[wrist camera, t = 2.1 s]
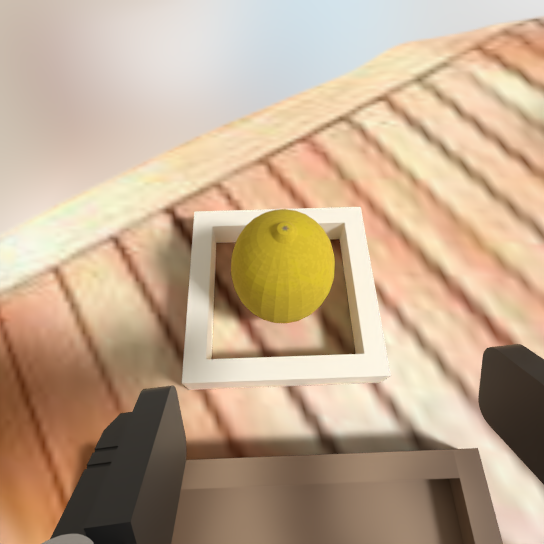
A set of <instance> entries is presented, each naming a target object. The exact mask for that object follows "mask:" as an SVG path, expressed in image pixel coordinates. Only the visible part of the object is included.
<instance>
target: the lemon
mask: <svg viewBox="0 0 544 544" xmlns="http://www.w3.org/2000/svg"><path fill="white" fill-rule="evenodd" d="M334 270H335V258H334V253H333V249H332V245H331V242H330V240H329V238H328V236H327V234H326V233H325V231H324V229H323V228H322V227H321V226H320V225H319V224H318V223H317V222H316V221H315V220H314V219H312V218H311V217H309V216H307V215H306V214H303V213H301V212H298V211H295V210H287V209H280V210H272V211H269V212H266V213H263V214H261V215H260V216H258V217H256V218H254V219H253V220H252V221H251V222H250V223H248V224H247V225H246V226H245V228H244V229H243V230H242V232H241V234H240V235H239V237H238V238H237V241H236V244H235V247H234V250H233V253H232V257H231V277H232V281H233V284H234V288H235V291H236V293H237V295H238V296H239V298H240V300H241V302H242V303H243V304H244V305H245V306H246V307H247V308H248V309H249V310H250V311H251V312H252V313H253V314H255V315H256V316H258V317H260V318H262V319H263V320H267V321H270V322H274V323H290V322H295V321H299V320H301V319H303V318H305V317H307V316H309V315H310V314H312V313H313V312H314V311H315V310H316V309H318V308H319V307H320V306H321V304H322V303H323V301H324V300H325V298H326V297H327V295H328V294H329V291H330V289H331V285H332V282H333V279H334Z"/></svg>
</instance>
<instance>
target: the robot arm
mask: <svg viewBox="0 0 544 544" xmlns="http://www.w3.org/2000/svg"><path fill="white" fill-rule="evenodd" d="M479 406H480V410H481V413H482V415H483V417H484V419H485V420H486V422H487V423H488V424H489V425H490V426H491V428H492V429H493V430H494V431H495V432H496V433H497V434H498V435H499V436H500V437H501V438H502V439H503V441H504V442H505V443H506V444H507V445H508V446H509V447H510V448H511V449H512V450H513V451H514V453H515V454H516V455H517V456H518V457H519V458H520V459H521V460H522V461H523V462H524V463H525V464H526V466H527V467H528V468H529V469H530V470H531V471H532V472H533V473H534V474H535V475H536V476H537V478H538V479H539V480H540V481H541V482H542V483H543V484H544V359H542V358H541V357H539V356H538V355H536V354H535V353H533V352H532V351H530V350H529V349H527V348H526V347H524V346H523V345H520V344H514V345H506V346H498V347H490V348H487V349H486V350H485V351H484V354H483V360H482V369H481V379H480V388H479ZM185 463H186V436H185V431H184V426H183V421H182V416H181V411H180V406H179V401H178V396H177V391H176V389H175V387H174V386H166V387H158V388H150V389H143V390H142V391H141V393H140V395H139V398H138V400H137V402H136V405H135V407H134V410H133V412H128V413H121V414H120V415H119V416H118V417H117V418H116V419H115V420H114V421H113V422H112V423H111V424H110V425H109V426H108V427H107V428H106V429H105V430H104V431H103V433H102V435H101V437H100V439H99V441H98V443H97V446H96V448H95V452H94V453H93V454H92V456H91V458H90V460H89V462H88V464H87V469H85V470H84V472H83V474H82V476H81V478H80V480H79V482H78V484H77V486H76V488H75V490H74V492H73V494H72V496H71V498H70V500H69V502H68V504H67V506H66V508H65V510H64V512H63V514H62V516H61V518H60V520H59V522H58V524H57V526H56V528H55V530H54V532H53V535H52V536H51V538H50V540H48V541H45V542H44V543H42V544H171V542H172V537H173V531H174V525H175V520H176V514H177V508H178V503H179V497H180V492H181V486H182V480H183V475H184V469H185Z"/></svg>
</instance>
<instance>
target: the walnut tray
mask: <svg viewBox="0 0 544 544" xmlns="http://www.w3.org/2000/svg"><path fill="white" fill-rule="evenodd" d="M171 544H503V542H502V539H501V535H500V531H499V527H498V523H497V520H496V516H495V512H494V508H493V504H492V500H491V497H490V493H489V489H488V485H487V481H486V478H485V474H484V470H483V466H482V462H481V459H480V455H479V451H478V448H473V449H448V450H423V451H398V452H373V453H348V454H323V455H298V456H273V457H248V458H224V459H199V460H186V463H185V469H184V475H183V480H182V486H181V492H180V497H179V503H178V508H177V514H176V520H175V525H174V531H173V537H172V542H171Z"/></svg>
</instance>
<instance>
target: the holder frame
mask: <svg viewBox="0 0 544 544" xmlns="http://www.w3.org/2000/svg"><path fill="white" fill-rule="evenodd" d="M272 210H280V209H270V210H235V211H200V212H194V224H193V238H192V251H191V265H190V278H189V292H188V305H187V319H186V332H185V346H184V359H183V373H182V384H183V385H184V386H186V387H187V388H188V389H189V390H197V389H224V388H251V387H278V386H306V385H333V384H360V383H381V382H382V381H384V380H385V379H387V378H388V377H390V376H391V374H390V368H389V363H388V357H387V351H386V346H385V340H384V335H383V329H382V324H381V318H380V312H379V307H378V301H377V296H376V290H375V285H374V279H373V273H372V268H371V262H370V257H369V251H368V246H367V240H366V235H365V229H364V223H363V218H362V212H361V207H339V208H304V209H287V210H295V211H298V212H301V213H303V214H306V215H307V216H309V217H311V218H312V219H314V220H315V221H316V222H317V223H318V224H319V225H320V226H321V227H322V228H323V229H324V231H325V233H326V234H327V236H328V238H329V239H340V246H341V253H342V260H343V267H344V274H345V282H346V289H347V296H348V303H349V310H350V317H351V324H352V331H353V339H354V346H355V353H356V354H344V355H315V356H287V357H259V358H231V359H212V342H213V317H214V291H215V265H216V243H229V242H236V241H237V238H238V237H239V235H240V234H241V232H242V230H243V229H244V228H245V226H246V225H247V224H248V223H250V222H251V221H252V220H253V219H254V218H256V217H258V216H260V215H261V214H263V213H266V212H269V211H272Z"/></svg>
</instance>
